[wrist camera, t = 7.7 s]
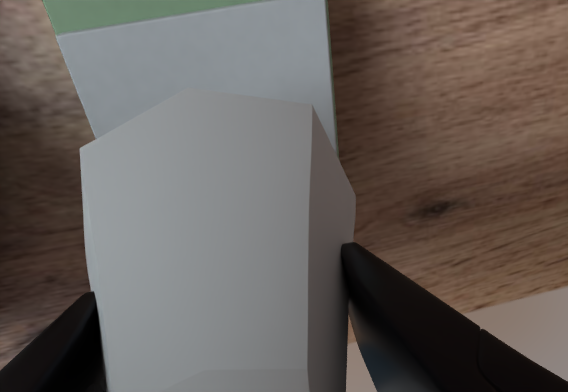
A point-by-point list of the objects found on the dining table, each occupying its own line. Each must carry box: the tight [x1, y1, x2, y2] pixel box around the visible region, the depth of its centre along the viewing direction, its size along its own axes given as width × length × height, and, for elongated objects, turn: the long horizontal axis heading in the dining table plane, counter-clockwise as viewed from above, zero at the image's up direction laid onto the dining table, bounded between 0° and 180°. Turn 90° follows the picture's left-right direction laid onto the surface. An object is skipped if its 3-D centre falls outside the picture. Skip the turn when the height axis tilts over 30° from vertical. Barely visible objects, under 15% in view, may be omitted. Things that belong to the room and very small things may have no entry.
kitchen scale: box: [42, 0, 339, 159], centre depth 16 cm, size 12×9×3 cm
